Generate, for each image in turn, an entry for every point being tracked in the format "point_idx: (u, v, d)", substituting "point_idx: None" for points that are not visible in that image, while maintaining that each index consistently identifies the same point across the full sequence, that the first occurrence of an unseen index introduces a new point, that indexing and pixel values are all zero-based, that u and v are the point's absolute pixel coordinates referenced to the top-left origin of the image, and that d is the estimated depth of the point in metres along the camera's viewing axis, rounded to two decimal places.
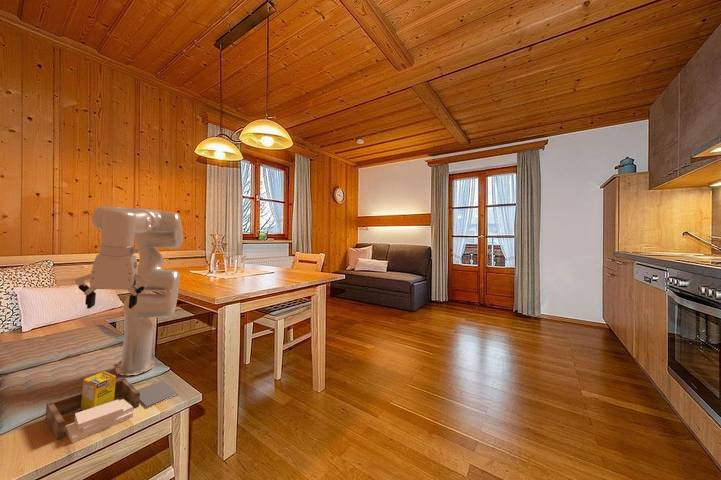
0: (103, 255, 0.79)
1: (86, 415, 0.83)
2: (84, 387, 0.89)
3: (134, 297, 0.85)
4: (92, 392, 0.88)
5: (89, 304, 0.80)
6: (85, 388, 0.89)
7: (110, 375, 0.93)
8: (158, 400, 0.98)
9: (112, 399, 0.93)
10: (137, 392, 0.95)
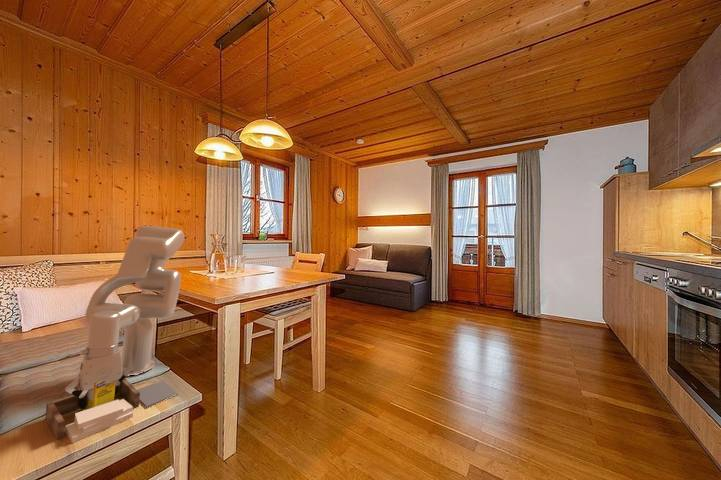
0: None
1: (86, 415, 0.83)
2: None
3: None
4: (92, 392, 0.88)
5: None
6: None
7: None
8: (158, 400, 0.98)
9: (112, 399, 0.93)
10: (137, 392, 0.95)
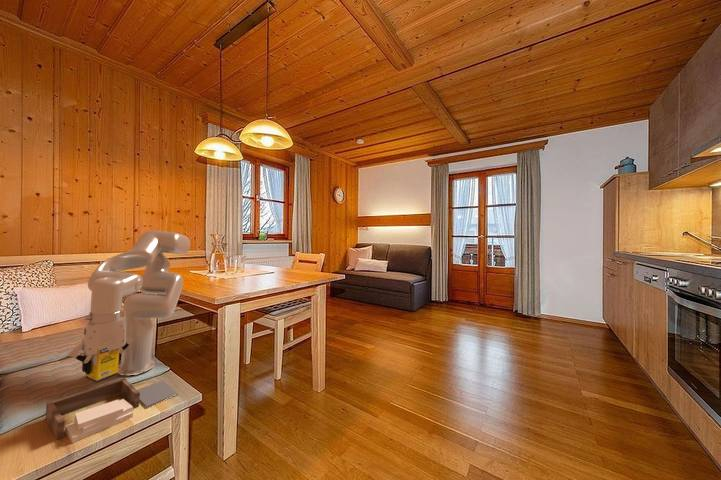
0: None
1: (86, 415, 0.83)
2: None
3: None
4: (95, 357, 0.88)
5: None
6: None
7: None
8: (158, 400, 0.98)
9: (116, 367, 0.93)
10: (137, 392, 0.95)
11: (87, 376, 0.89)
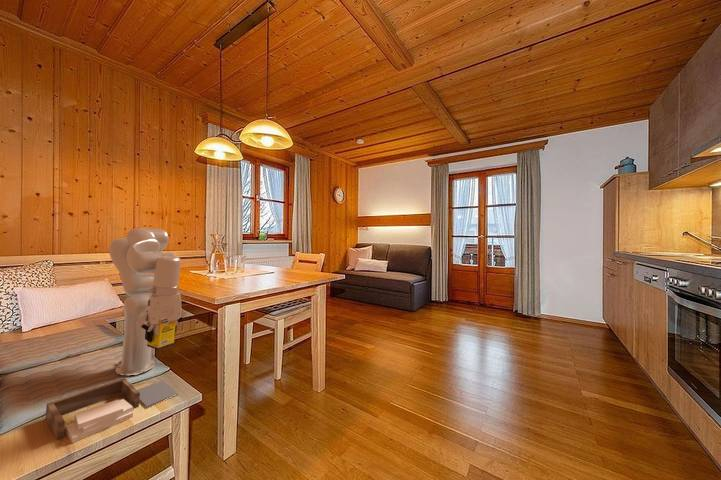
0: None
1: (86, 415, 0.83)
2: None
3: None
4: (157, 327, 0.97)
5: None
6: None
7: None
8: (158, 400, 0.98)
9: (173, 337, 1.02)
10: (137, 392, 0.95)
11: (148, 344, 0.99)
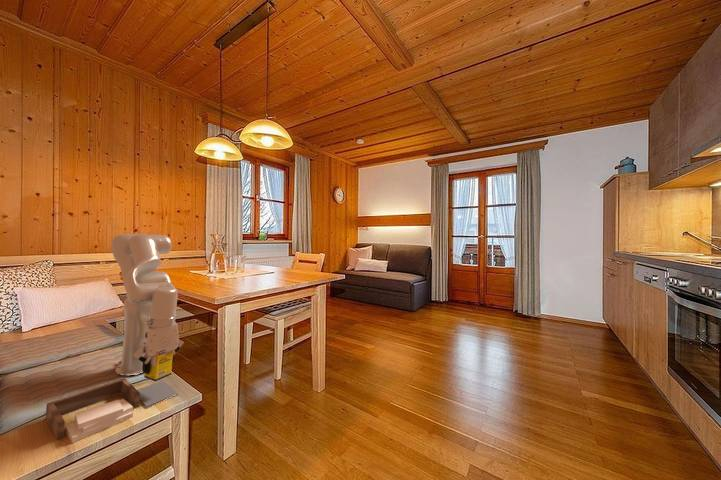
0: None
1: (86, 415, 0.83)
2: None
3: None
4: (154, 358, 0.98)
5: None
6: None
7: None
8: (158, 400, 0.98)
9: (170, 367, 1.03)
10: (137, 392, 0.95)
11: (146, 376, 0.99)
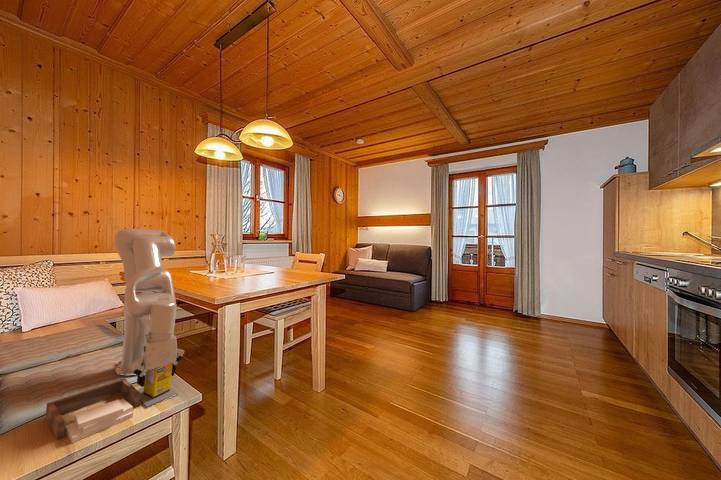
0: None
1: (86, 415, 0.83)
2: None
3: None
4: (153, 376, 0.99)
5: None
6: (147, 372, 1.00)
7: None
8: (158, 400, 0.98)
9: (169, 384, 1.03)
10: (137, 392, 0.95)
11: (145, 392, 1.00)
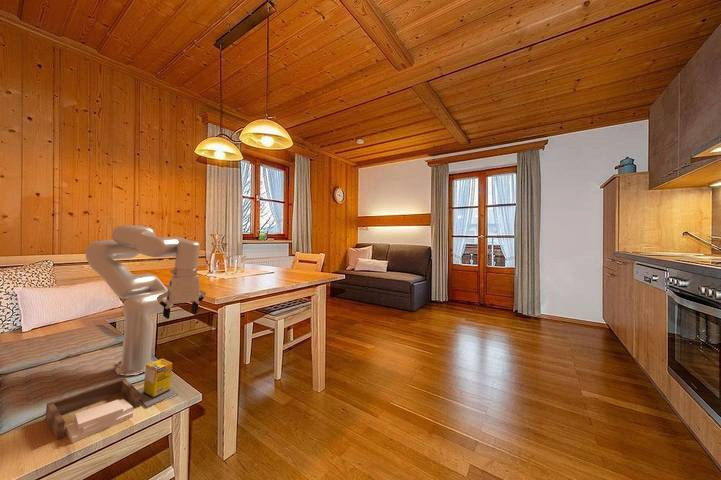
0: None
1: (86, 415, 0.83)
2: (146, 371, 1.00)
3: None
4: (153, 376, 0.99)
5: None
6: (147, 372, 1.00)
7: (167, 362, 1.03)
8: (158, 400, 0.98)
9: (169, 384, 1.03)
10: (137, 392, 0.95)
11: (145, 392, 1.00)
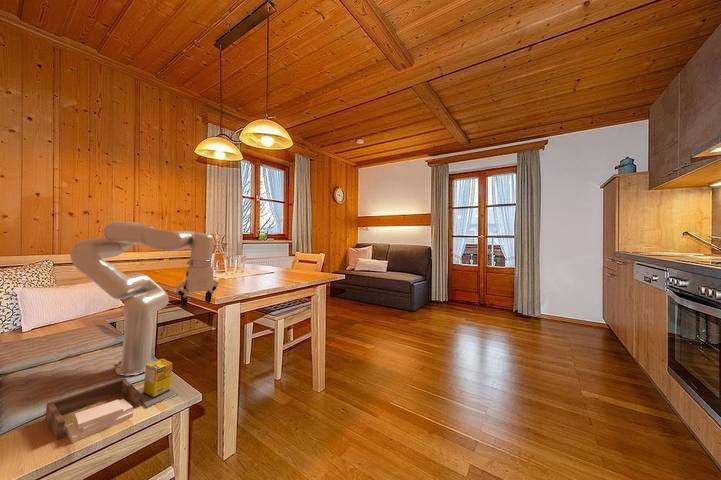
0: None
1: (86, 415, 0.83)
2: (146, 371, 1.00)
3: None
4: (153, 376, 0.99)
5: None
6: (147, 372, 1.00)
7: (167, 362, 1.03)
8: (158, 400, 0.98)
9: (169, 384, 1.03)
10: (137, 392, 0.95)
11: (145, 392, 1.00)
